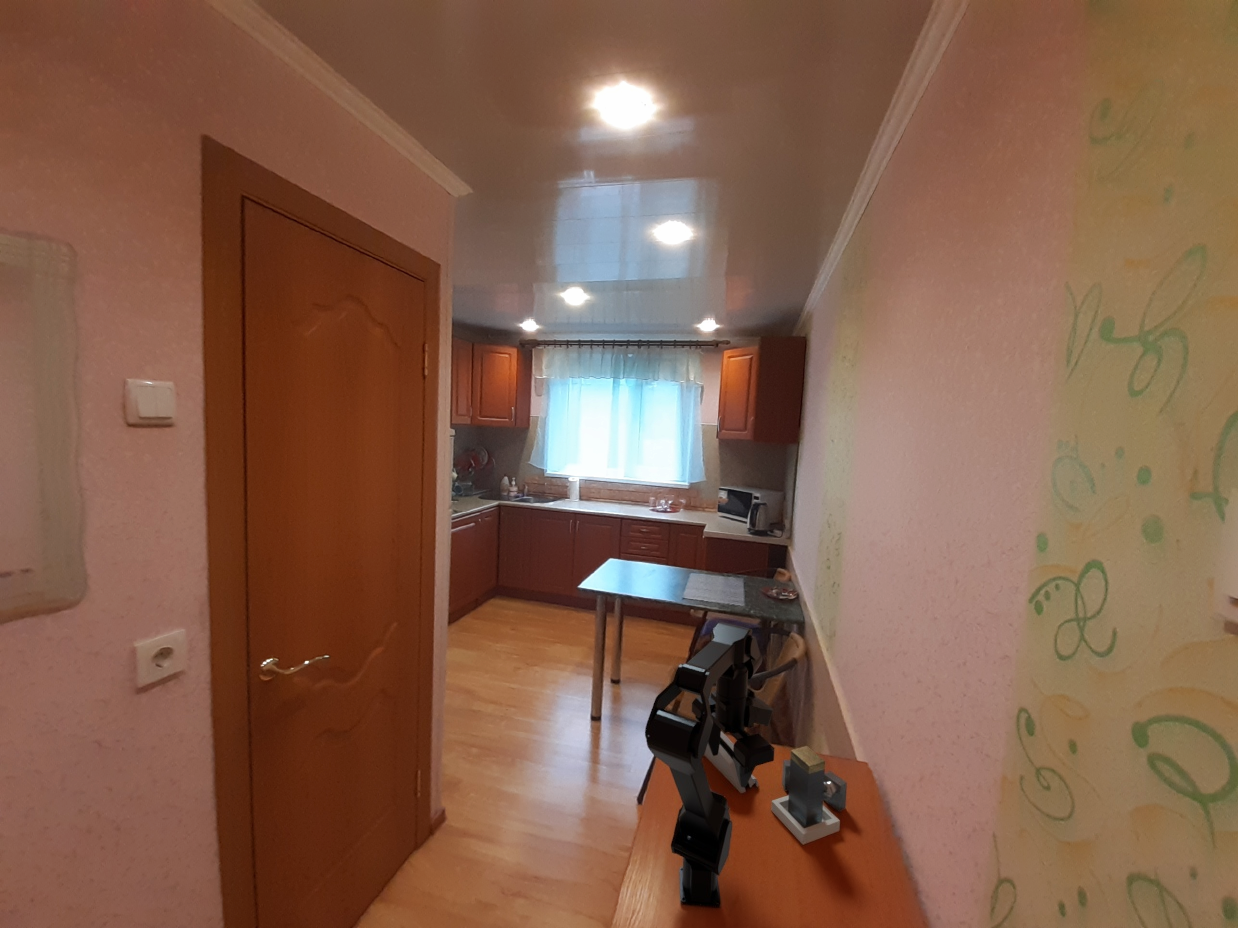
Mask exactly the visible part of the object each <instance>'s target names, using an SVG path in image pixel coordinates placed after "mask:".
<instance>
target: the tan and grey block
mask: <svg viewBox="0 0 1238 928" xmlns="http://www.w3.org/2000/svg"><path fill="white" fill-rule="evenodd" d="M789 760H790V780H789V791H788V795H789V800H788V812H789V813H790V814H791V815H792V816H793V817H794V818H795V819H796V820H797V821H798V822H799V823H800V824H801V825H802V826H803V828H807V827H810V826H813V825H815V824H818V823H821V822H822V812H823V805H824V800H823V794H824V775H825V773H826V772H825V771H826V760H825V759H824V758H823V757H821V756H820V755H819V754H817V753H816V751H814V750H812V749H811V748H810V747H809V746H807V745H805V746H800V747H797V748H794V749H792V750H791V749H790V759H789Z"/></svg>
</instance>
